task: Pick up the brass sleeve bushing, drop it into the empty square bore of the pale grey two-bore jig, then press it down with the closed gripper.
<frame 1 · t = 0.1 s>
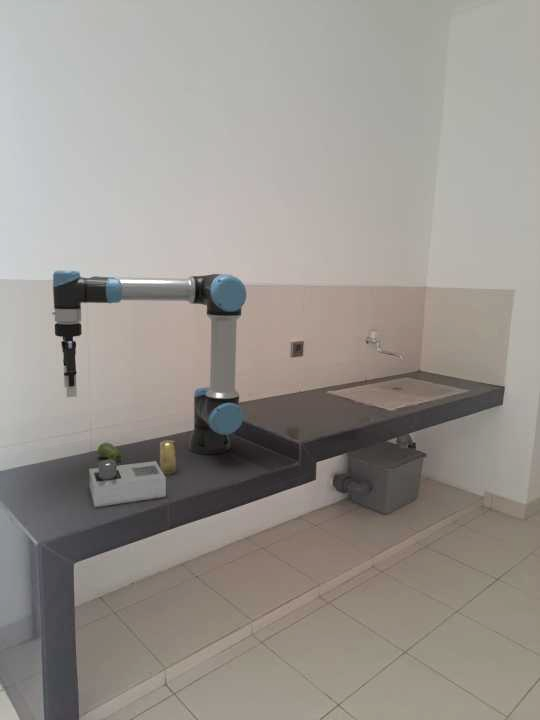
hand: (70, 391, 161), 28 cm above the countertop, fingers open, 13 cm apart
jig: (127, 492, 157), on the countertop
brass bushing: (167, 471, 173), on the countertop
pear: (109, 459, 183), on the countertop
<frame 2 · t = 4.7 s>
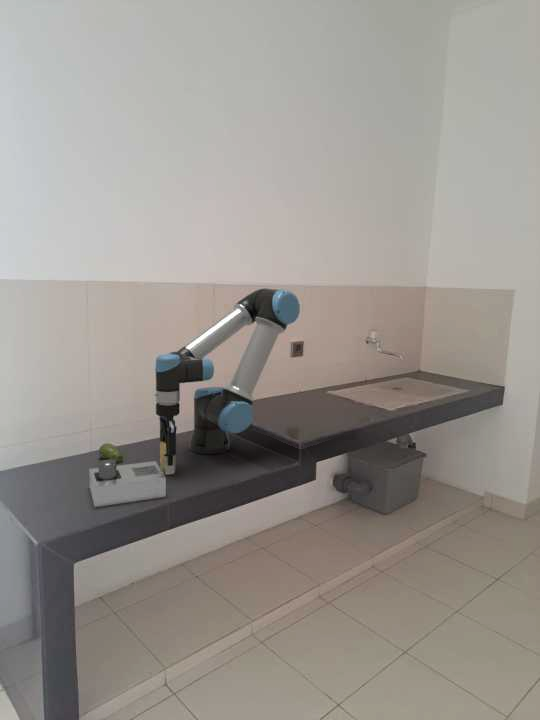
hand: (167, 470, 173), 0 cm above the countertop, fingers closed on brass bushing, 5 cm apart
brass bushing: (167, 471, 173), on the countertop, touching gripper
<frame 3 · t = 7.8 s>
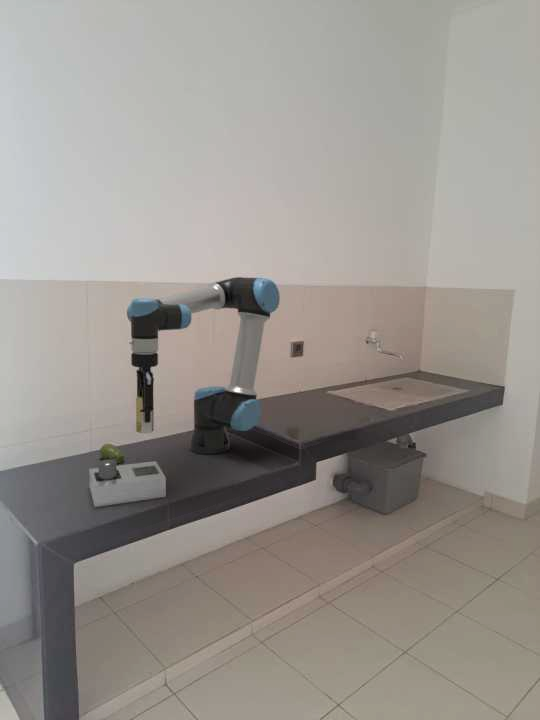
hand: (145, 429, 156), 19 cm above the countertop, fingers closed on brass bushing, 5 cm apart
brass bushing: (144, 430, 156), point 19 cm above the countertop, touching gripper
when the fingers open (8 cm above the countertop, at t = 11.0 s): brass bushing drops 7 cm, resting in jig.
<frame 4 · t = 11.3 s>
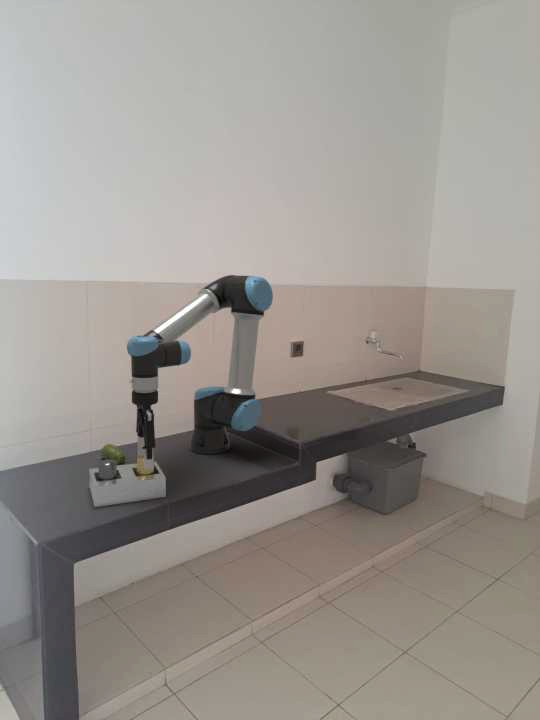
hand: (145, 462, 157), 9 cm above the countertop, fingers open, 9 cm apart
brass bushing: (145, 489, 159), resting in jig
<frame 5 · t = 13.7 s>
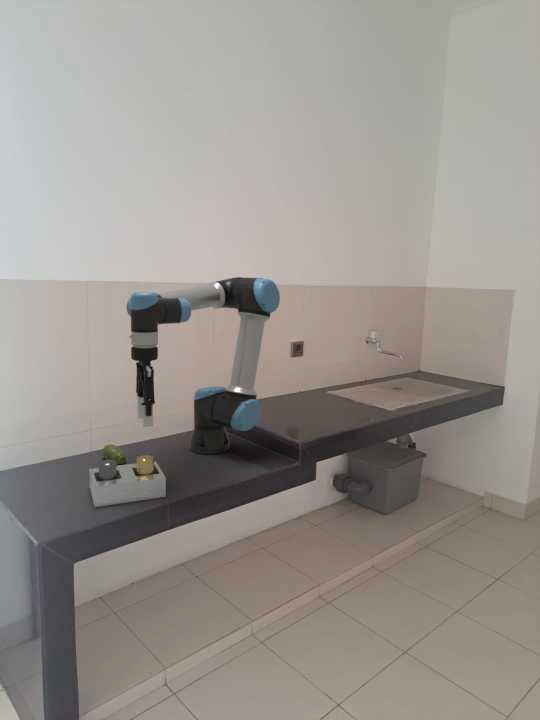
hand: (145, 422, 155), 21 cm above the countertop, fingers open, 8 cm apart
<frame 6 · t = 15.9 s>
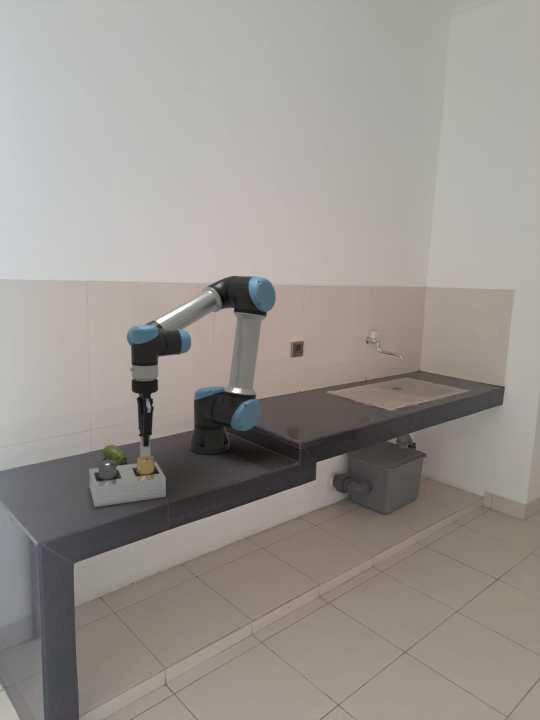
hand: (145, 455, 157), 11 cm above the countertop, fingers closed
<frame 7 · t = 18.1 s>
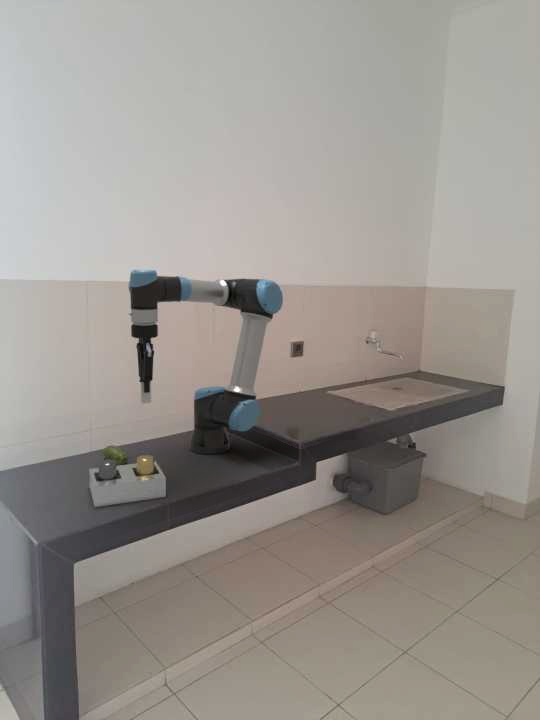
hand: (146, 402, 157), 27 cm above the countertop, fingers closed
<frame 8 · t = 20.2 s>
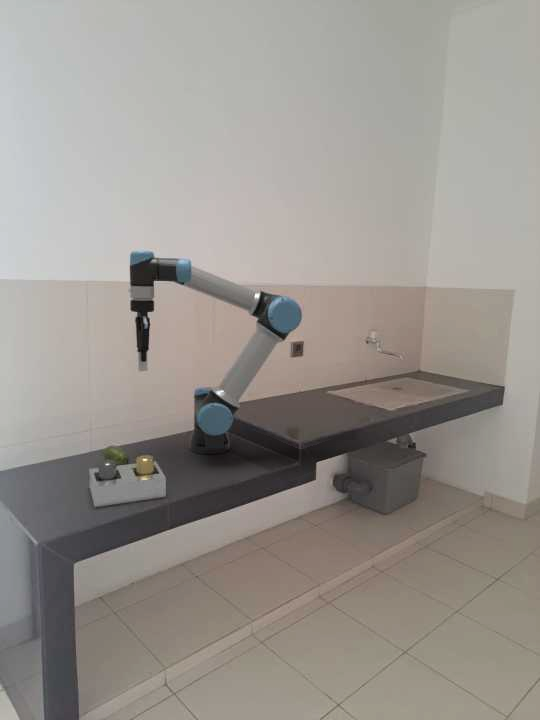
hand: (142, 370, 175), 32 cm above the countertop, fingers closed
at the end: brass bushing 0.1 cm from the target spot on the jig, point 0.0 cm above the jig's base; brass bushing tilted 1°; the gripper is holding nothing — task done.
